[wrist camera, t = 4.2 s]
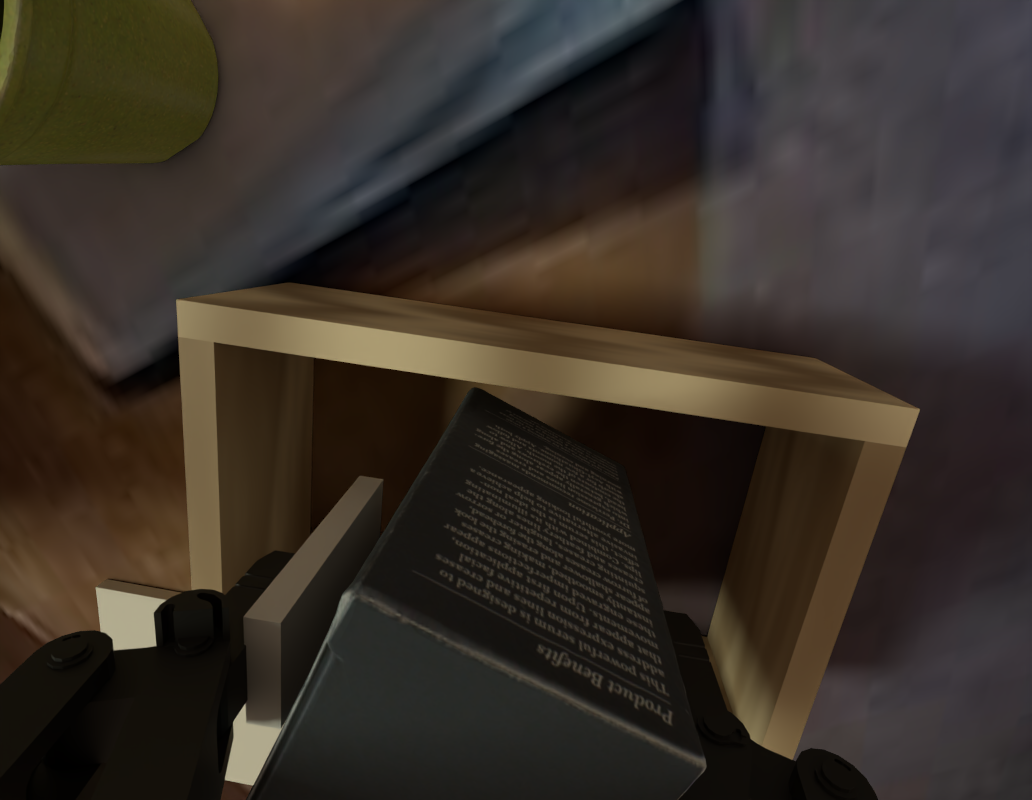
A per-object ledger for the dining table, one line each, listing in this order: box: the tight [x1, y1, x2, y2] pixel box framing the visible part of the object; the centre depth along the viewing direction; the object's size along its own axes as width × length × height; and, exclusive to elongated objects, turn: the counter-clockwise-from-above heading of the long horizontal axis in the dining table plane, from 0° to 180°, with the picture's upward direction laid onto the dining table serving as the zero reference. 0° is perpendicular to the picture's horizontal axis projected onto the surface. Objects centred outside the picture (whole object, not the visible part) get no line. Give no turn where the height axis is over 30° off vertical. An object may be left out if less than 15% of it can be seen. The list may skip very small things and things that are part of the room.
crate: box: [176, 282, 920, 760], centre depth 19 cm, size 19×13×6 cm
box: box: [246, 387, 706, 800], centre depth 13 cm, size 8×6×11 cm
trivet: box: [96, 579, 285, 785], centre depth 26 cm, size 10×10×1 cm
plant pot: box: [0, 0, 218, 165], centre depth 14 cm, size 9×9×9 cm
